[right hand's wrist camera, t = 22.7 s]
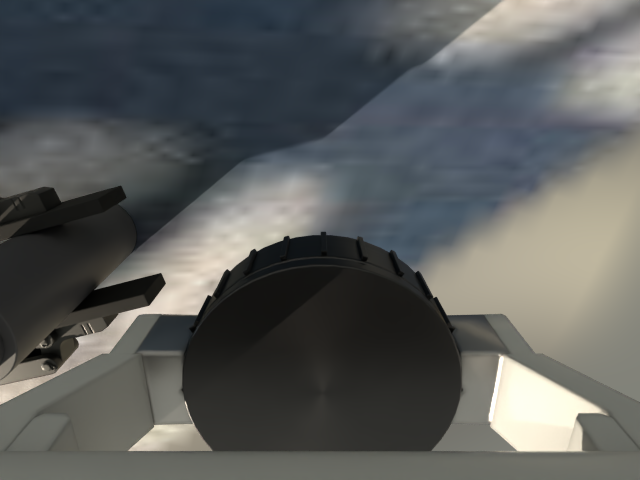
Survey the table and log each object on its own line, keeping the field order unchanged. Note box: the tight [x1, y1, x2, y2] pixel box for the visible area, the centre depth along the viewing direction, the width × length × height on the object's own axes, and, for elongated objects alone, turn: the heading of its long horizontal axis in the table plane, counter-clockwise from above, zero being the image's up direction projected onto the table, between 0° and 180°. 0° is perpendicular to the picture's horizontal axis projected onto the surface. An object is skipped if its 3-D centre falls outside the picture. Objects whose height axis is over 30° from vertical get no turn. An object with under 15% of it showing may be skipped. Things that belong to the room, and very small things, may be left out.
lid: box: [182, 232, 462, 451], centre depth 9 cm, size 6×6×2 cm
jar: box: [0, 204, 137, 380], centre depth 24 cm, size 5×5×15 cm
